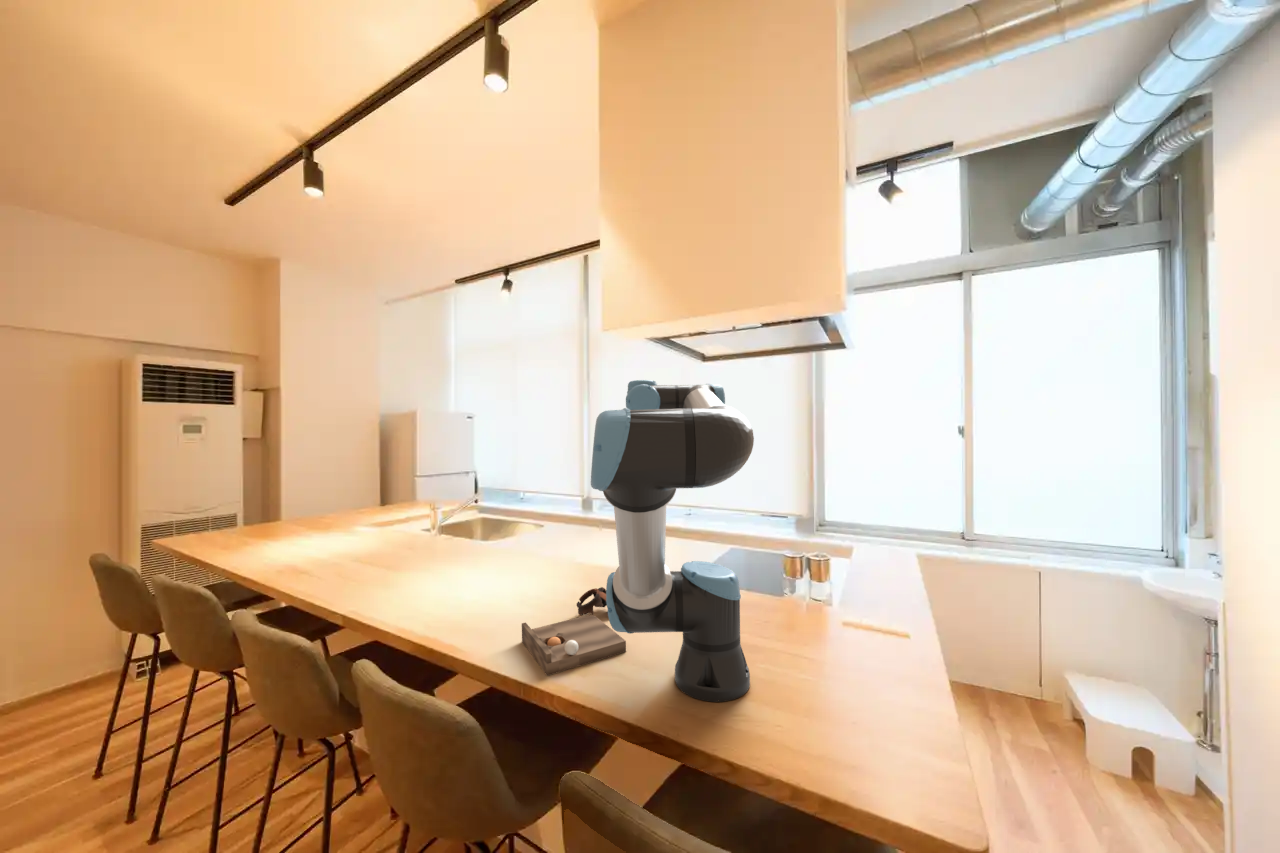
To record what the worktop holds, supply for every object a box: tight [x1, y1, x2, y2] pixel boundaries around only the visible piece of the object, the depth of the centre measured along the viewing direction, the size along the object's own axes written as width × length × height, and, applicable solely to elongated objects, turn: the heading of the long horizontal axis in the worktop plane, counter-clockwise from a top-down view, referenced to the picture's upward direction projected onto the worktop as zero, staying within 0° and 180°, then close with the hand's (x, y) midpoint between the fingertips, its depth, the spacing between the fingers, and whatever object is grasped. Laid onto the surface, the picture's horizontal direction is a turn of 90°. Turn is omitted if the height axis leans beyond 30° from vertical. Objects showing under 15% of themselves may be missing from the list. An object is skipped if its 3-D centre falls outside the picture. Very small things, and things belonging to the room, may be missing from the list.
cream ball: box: [565, 640, 578, 655], centre depth 102 cm, size 3×3×3 cm
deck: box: [521, 613, 627, 677], centre depth 111 cm, size 18×19×4 cm
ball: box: [547, 637, 561, 646], centre depth 109 cm, size 3×3×3 cm
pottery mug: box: [576, 586, 607, 616], centre depth 129 cm, size 12×10×8 cm
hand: (645, 536), depth 116 cm, fingers closed
